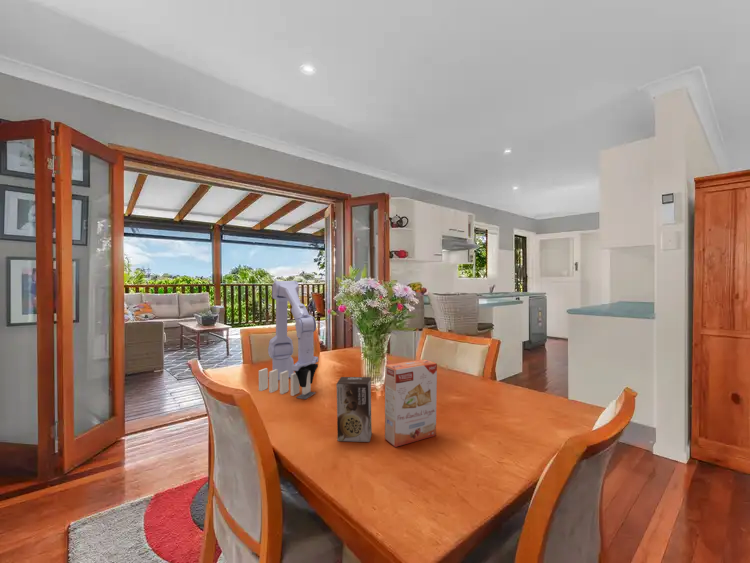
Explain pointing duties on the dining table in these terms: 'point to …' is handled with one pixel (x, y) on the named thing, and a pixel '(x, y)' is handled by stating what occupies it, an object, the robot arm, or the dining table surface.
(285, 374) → the domino
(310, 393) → the plate
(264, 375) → the domino
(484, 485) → the dining table surface
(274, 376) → the domino
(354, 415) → the dark brown upright box
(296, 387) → the domino
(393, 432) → the cracker box
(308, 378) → the domino
